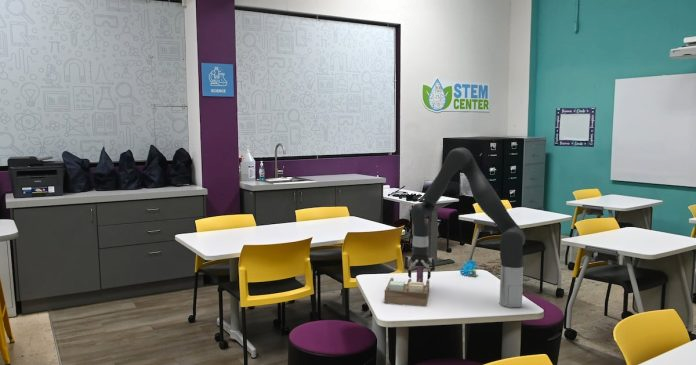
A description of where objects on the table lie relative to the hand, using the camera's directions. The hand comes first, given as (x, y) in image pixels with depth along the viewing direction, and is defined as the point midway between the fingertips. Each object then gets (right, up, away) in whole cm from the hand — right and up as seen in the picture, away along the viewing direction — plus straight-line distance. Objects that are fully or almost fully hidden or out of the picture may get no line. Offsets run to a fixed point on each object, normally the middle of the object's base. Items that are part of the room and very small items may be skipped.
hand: (419, 278), depth 258 cm
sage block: (-13, -3, -20) cm, 24 cm away
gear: (+30, -3, +26) cm, 40 cm away
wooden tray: (-7, -6, -14) cm, 17 cm away
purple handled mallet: (-2, -5, -11) cm, 13 cm away
